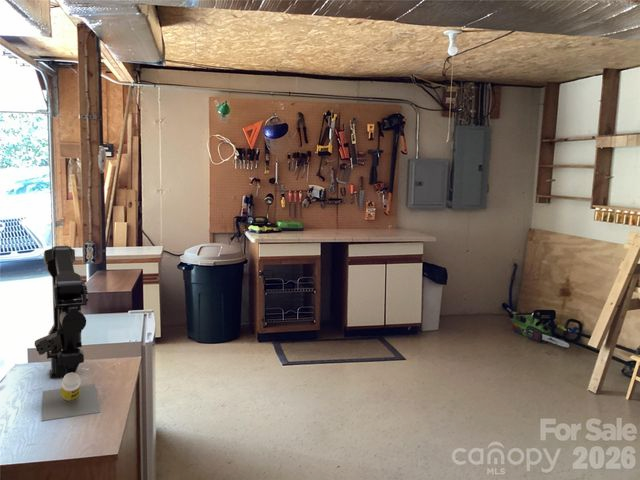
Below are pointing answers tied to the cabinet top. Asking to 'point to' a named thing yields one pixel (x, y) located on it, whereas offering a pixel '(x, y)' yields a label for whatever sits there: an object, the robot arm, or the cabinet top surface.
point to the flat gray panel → (69, 404)
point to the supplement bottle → (70, 387)
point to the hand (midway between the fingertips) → (70, 378)
